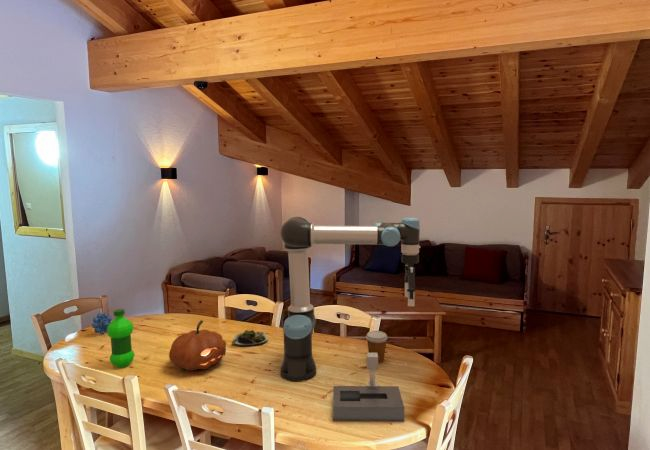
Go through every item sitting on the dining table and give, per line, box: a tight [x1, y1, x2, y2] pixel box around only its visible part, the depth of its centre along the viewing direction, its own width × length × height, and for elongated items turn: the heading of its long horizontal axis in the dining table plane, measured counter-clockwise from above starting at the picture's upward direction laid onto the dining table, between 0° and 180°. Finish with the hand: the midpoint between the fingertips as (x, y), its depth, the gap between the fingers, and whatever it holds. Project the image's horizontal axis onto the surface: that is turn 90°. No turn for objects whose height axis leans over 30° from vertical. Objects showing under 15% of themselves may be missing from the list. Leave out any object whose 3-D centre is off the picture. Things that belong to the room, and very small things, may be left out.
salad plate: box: [231, 329, 268, 348], centre depth 212 cm, size 19×18×5 cm
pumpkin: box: [168, 319, 227, 371], centre depth 184 cm, size 25×25×19 cm
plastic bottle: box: [106, 308, 135, 369], centre depth 183 cm, size 10×10×25 cm
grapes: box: [91, 312, 113, 335], centre depth 221 cm, size 12×7×12 cm, turn 155°
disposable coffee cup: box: [365, 330, 388, 364], centre depth 186 cm, size 10×10×12 cm
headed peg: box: [365, 352, 380, 386], centre depth 160 cm, size 5×5×14 cm
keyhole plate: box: [332, 385, 405, 422], centre depth 147 cm, size 24×14×5 cm, turn 88°
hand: (409, 301), depth 182 cm, fingers open, 13 cm apart
